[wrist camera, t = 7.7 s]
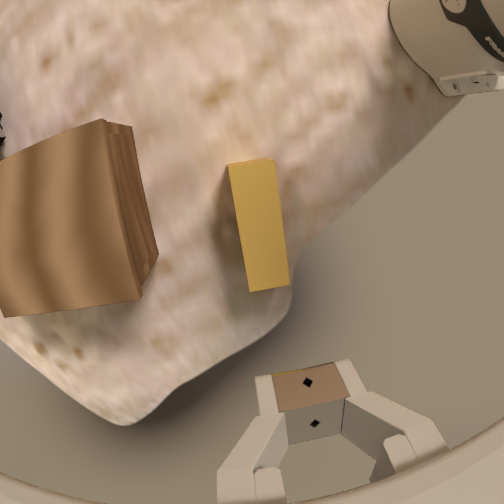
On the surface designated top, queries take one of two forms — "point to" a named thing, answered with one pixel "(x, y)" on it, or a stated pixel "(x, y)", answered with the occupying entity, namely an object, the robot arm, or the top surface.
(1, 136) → the game console
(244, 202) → the yellow block
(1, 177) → the box lid
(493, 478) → the robot arm
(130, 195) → the wooden box
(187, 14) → the top surface
